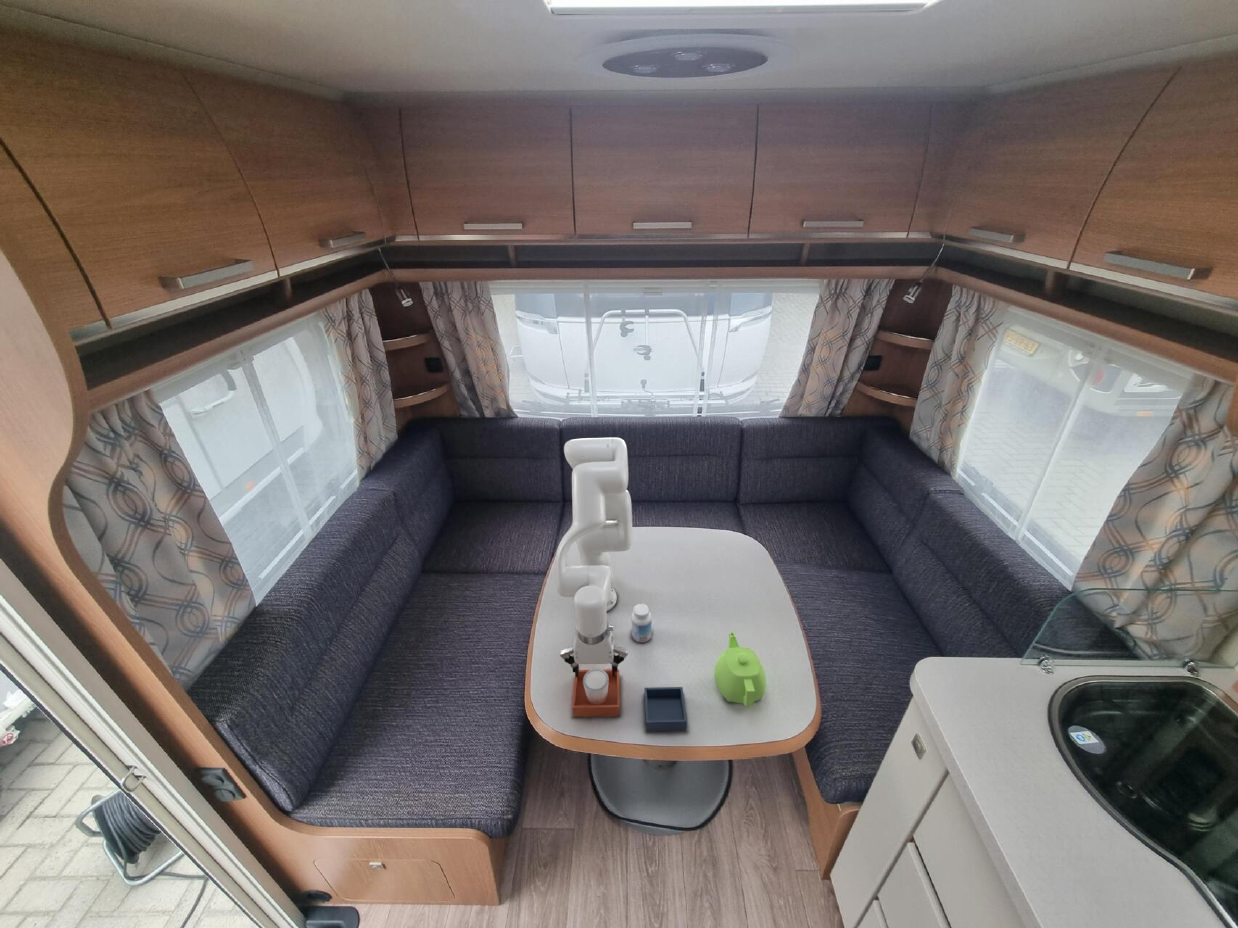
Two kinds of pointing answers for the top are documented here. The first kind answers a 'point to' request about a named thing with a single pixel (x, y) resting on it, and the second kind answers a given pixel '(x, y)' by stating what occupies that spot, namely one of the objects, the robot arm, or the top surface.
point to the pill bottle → (641, 623)
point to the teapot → (740, 674)
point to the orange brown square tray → (587, 709)
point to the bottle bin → (665, 709)
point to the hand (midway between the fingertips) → (595, 671)
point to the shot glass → (596, 686)
